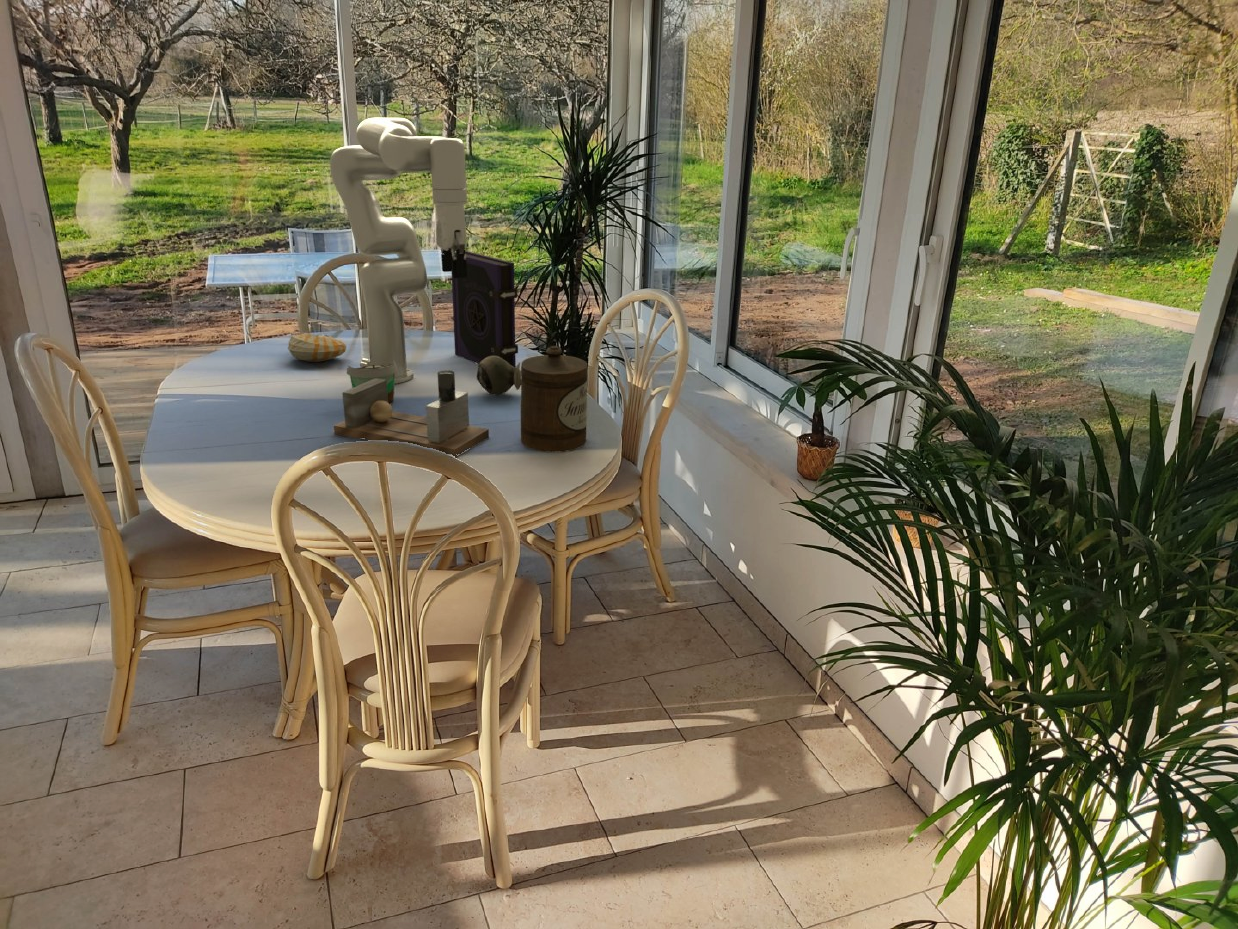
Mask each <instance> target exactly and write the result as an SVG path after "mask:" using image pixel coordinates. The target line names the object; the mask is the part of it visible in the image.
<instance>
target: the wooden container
mask: <svg viewBox="0 0 1238 929" xmlns="http://www.w3.org/2000/svg"><path fill="white" fill-rule="evenodd" d="M562 352H563V351H562V348H561V347H559V346H558V345H551V346H550V347H548V348H546V350H545V353H546V354H544V355H543V354H542V355H535V356H531V357H528V358H525V359H524V360H522V362H521V363H520V371H521V386H520V441H521V444H522V445H523V446H525V447H527V448H529V449H531V450H535V451H539V452H545V453H547V452H548V453H563V452H568V451H569V452H571V451H573V450H576V449H579V448H581V447H583V446H584V445H585V444H586V442H587V423H588V422H587V421H588V420H587V418H588V417H587V416H588V363H587V362H586V361H585V360H584V359H582V358H579V357H576V356H571V355H562Z"/></svg>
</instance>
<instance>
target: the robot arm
mask: <svg viewBox="0 0 1238 929" xmlns="http://www.w3.org/2000/svg"><path fill="white" fill-rule="evenodd" d="M355 136H356V141H357V142H358V144H359V145H346V146H342V147H339V148H337V149H335V150H334V151H333V152H332V154H331V156H330V159H329V161H330V162H329V169H330V171H329V172H330V176H331V179H332V182H333V184H334V187H335V189H336V191H337V193H338V195H339V197H340V198H341V200H342V202H343V205H344V207H345V210H346V215H347V217H348V218H347V219H348V221H349V225H350V228H351V232H352V236H353V240H354V242H355V245H356V249H358V251H359V253H360V254H361V255H363V256H366V257H377V256H379V257H380V256H390V255H391V256H392V255H396V256H397V257H394V258H393V257H391V258H383V259H382V258H381V259H374V260H371V261H367V262H366V263H364V264H363V265H362V266H361V267H360V268H359V269H360V270H359V273H358V278H359V284H360V288H361V292H362V296H363V300H364V306H365V317H366V326H367V327H366V328H367V339H368V340H367V341H368V353H369V358H366V357H363V358H362V359H361V362H359V366H360V367H365V366H369V365H389V364H394V361H395V363H396V366H397V372H396V373H395V377H394V384H401V383H405V382H408V381H410V380H411V379H413V377H414V372H413V371H412V370H411V369H409V368H408V366H407V350H406V347H407V346H406V335H405V334H406V332H405V319H404V317H405V316H404V312H403V310H402V308H401V306H400V305H399V303H398V302H397V301H396V300H395V298H394V297H397V296H403V295H411V294H416V293H420V292H422V291H424V290H425V288H426V286H427V284H428V276H427V269H426V265H425V261H424V257H423V254H422V250H421V246H420V243H419V239H418V235H417V233H416V230H415V227H414V225H413V224H412V223H411V221H410V220H409V219H407V218H405V217H404V216H403V217H402V216H384V215H383V213H382V208H381V206H380V203H379V200H378V197H377V196H376V195H375V194H374V192H372V190H371V189H370V188H369V187H368V186H367V185H365V184H364V183H363V182H362V181H380V180H381V181H384V180H386V181H387V180H388V181H389V180H394V179H396V178H398V177H399V176H400V175H401V174H402V173H427V172H430V173H431V188H432V191H431V192H432V203H433V205H435V241H436V242H435V243H436V245H437V247H439V248H440V252H441V270H442V272H444V273H446V272H447V273H450V272H451V271H452V272H451V276H452V275H453V278H466V277H467V264H466V254H465V253H466V252H465V251H467V250H466V248H467V245H468V244H467V227H466V226H467V225H466V216H465V214H466V213H465V206H464V205H468V190H467V175H466V174H467V170H466V169H467V168H466V152H465V150H466V149H465V148H466V147H465V144H464V142H463V140H462V139H460V138H457V137H456V138H454V137H452V138H451V137H444V136H419V135H418V132H417V129H416V126H415V125H414V124H413V123H412V122H411V120H409V119H407V118H405V117H370V118H366V119H364V120H363V121H361V122H360V123H359V125H358V126H357V128H356V133H355ZM455 252H456V253H455ZM360 367H359V368H360Z"/></svg>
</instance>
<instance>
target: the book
mask: <svg viewBox="0 0 1238 929" xmlns="http://www.w3.org/2000/svg"><path fill="white" fill-rule="evenodd" d="M465 252H466V253H465V254H466V264H467V277H466V278H453V275H452V274H451V292H452V293H451V294H452V314H453V336H454V337H453V339H454V340H453V341H454V342H453V343H454V355H455V356H458V357H460V358H462V359H465V360H467V361H470V362H473V363H475V364H477V362H476V361H475V359H476V360H477V361H478V362H479V363H480V362H481V361H482V360H483V359H485V358H486V357H489V356H499V357H500V358H502V359H503V360H505V361H507V362H508V363H509V364H510V365H511V366H513V367H515V368H516V367H517V365H516V364H517V363H516V359H517V358H516V354H519V344H516V315H515V314H516V311H515V310H516V308H515V307H516V306H515V300H516V299H517V298H518V289H517V288H516V287H515V263H514V262H511V261H507V260H505V259H499V258H495V257H491V256H488V255H484V254H480V253H476V252H472V251H468V250H466V251H465ZM455 253H456V251H455ZM450 272H451V273H452V271H450Z"/></svg>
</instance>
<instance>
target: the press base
mask: <svg viewBox="0 0 1238 929" xmlns="http://www.w3.org/2000/svg"><path fill="white" fill-rule="evenodd" d="M341 394H342V402H343V403H342V404H343V411H344V412H343V413H344V414H343V415H344V420H342V421H341V422H339V423H336V424H334V425H333V431H334V433H333V434H334V435H339V436H343V437H349V438H353V439H358V438H365V439H362V440H363V441H368V440H388V441H399V442H408V443H413V444H417V445H420V446H423V447H427V448H433V449H436V450H439V451H442V452H445V453H446V454H452V455H453V456H455V457H456V458H458V457H459V456H457V455H458V454H461V453H462V452H464V451H465V450H467V449H469V448H471V449H473V448H474V447H475V445H476V446H477V445H479V444H481V443H482V442H484V441H485V440H487V439H489V438H490V435H489V434H490V432H489V431H490V430H489V428H485V427H484V428H483V427H478V426H474V425H473V426H472V425H469V426H468V427H467V428H465V429H463V430H461V431H460V432H458V433H456V434H455V435H453V436H451V437H449V438H448V439H446V440H444V441H442V442H441V443H436V442H431V441H428V436H427V418H426V417H424V416H419V415H413V414H409V413H403V412H399V411H398V412H397V411H393V410H392V416H391V418H390V419H389V420H388V421H386V422H377V421H375V420H374V419H373V418H372V417H371V415H370V408H371V406H372V404H373V403H375V402H376V401H386V402H387V403H388V393H387V380H384V379H378V378H375V379H373V380H370V381H368V382H366V383H363V384H361V385H358V386H356V387H354V388H352V387H351V388H349V389H346V390H344V391H342V393H341ZM480 442H481V443H480ZM478 443H479V444H478ZM469 450H470V449H469ZM464 453H465V452H464ZM456 454H457V455H456ZM461 455H462V454H461Z"/></svg>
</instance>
